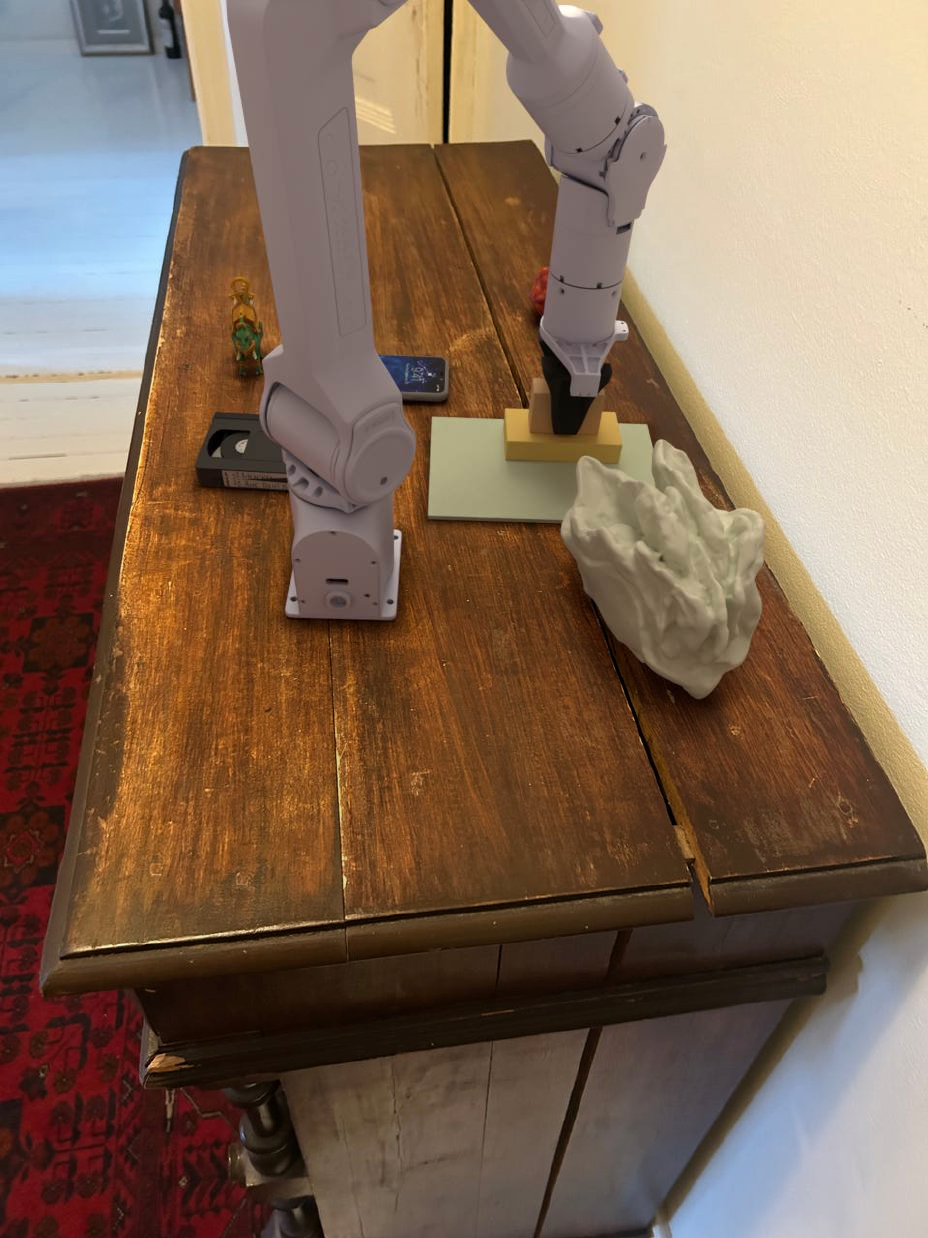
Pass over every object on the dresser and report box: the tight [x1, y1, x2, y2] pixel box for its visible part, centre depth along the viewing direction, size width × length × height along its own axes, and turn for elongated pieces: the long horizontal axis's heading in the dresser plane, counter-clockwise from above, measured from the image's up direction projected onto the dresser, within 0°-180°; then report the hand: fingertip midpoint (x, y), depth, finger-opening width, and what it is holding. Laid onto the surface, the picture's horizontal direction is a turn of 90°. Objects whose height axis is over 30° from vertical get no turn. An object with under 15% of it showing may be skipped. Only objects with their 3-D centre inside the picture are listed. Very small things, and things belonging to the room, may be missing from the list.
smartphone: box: [378, 354, 450, 402], centre depth 84 cm, size 7×1×15 cm
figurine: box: [228, 276, 264, 376], centre depth 83 cm, size 3×12×8 cm, turn 9°
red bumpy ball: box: [528, 265, 550, 318], centre depth 92 cm, size 6×7×8 cm
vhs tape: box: [194, 411, 289, 492], centre depth 74 cm, size 14×8×2 cm, turn 88°
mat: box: [427, 416, 655, 524], centre depth 76 cm, size 14×20×1 cm
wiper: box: [503, 377, 623, 463], centre depth 76 cm, size 5×10×6 cm, turn 90°
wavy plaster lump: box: [560, 438, 767, 700], centre depth 60 cm, size 18×13×16 cm
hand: (563, 422), depth 76 cm, fingers closed on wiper, 2 cm apart
